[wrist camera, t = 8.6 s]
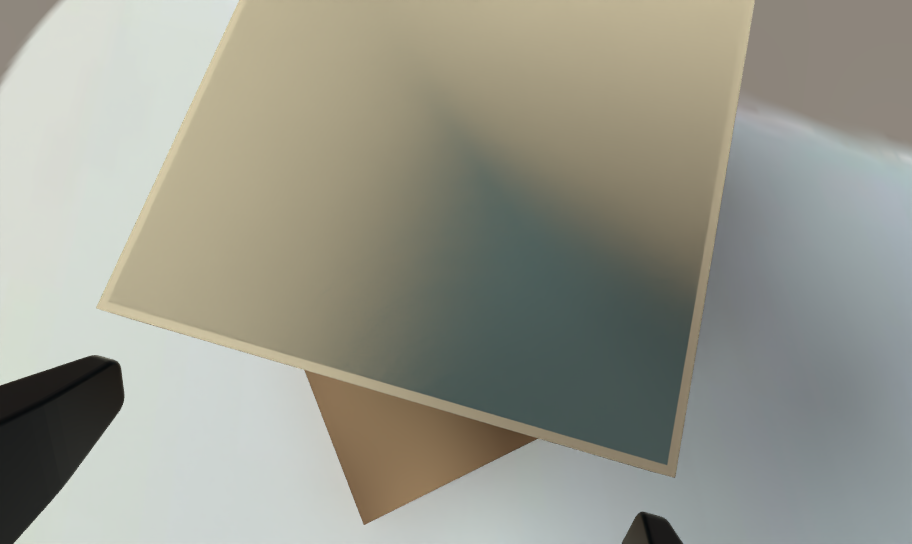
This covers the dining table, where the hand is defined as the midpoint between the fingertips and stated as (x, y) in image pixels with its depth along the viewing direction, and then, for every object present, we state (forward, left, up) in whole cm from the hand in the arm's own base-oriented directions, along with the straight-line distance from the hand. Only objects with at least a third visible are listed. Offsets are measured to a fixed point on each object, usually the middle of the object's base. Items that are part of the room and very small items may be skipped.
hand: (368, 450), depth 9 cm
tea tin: (+3, +3, -8) cm, 10 cm away
